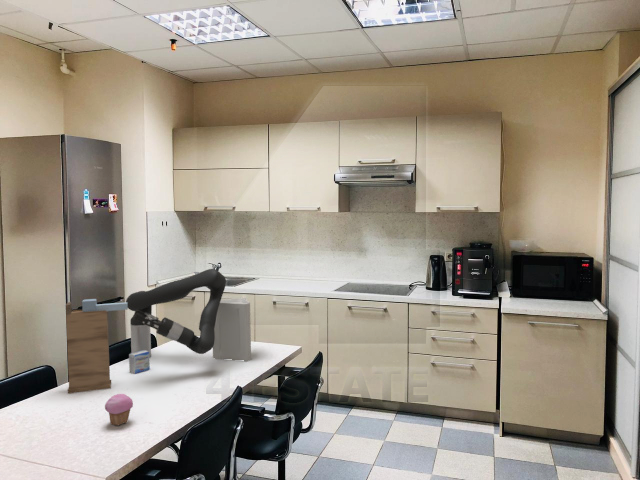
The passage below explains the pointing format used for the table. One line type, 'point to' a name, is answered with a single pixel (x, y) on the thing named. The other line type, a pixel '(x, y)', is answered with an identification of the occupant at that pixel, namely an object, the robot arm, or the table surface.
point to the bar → (102, 306)
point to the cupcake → (119, 408)
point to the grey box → (233, 330)
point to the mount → (87, 350)
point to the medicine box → (139, 362)
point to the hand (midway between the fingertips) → (135, 313)
